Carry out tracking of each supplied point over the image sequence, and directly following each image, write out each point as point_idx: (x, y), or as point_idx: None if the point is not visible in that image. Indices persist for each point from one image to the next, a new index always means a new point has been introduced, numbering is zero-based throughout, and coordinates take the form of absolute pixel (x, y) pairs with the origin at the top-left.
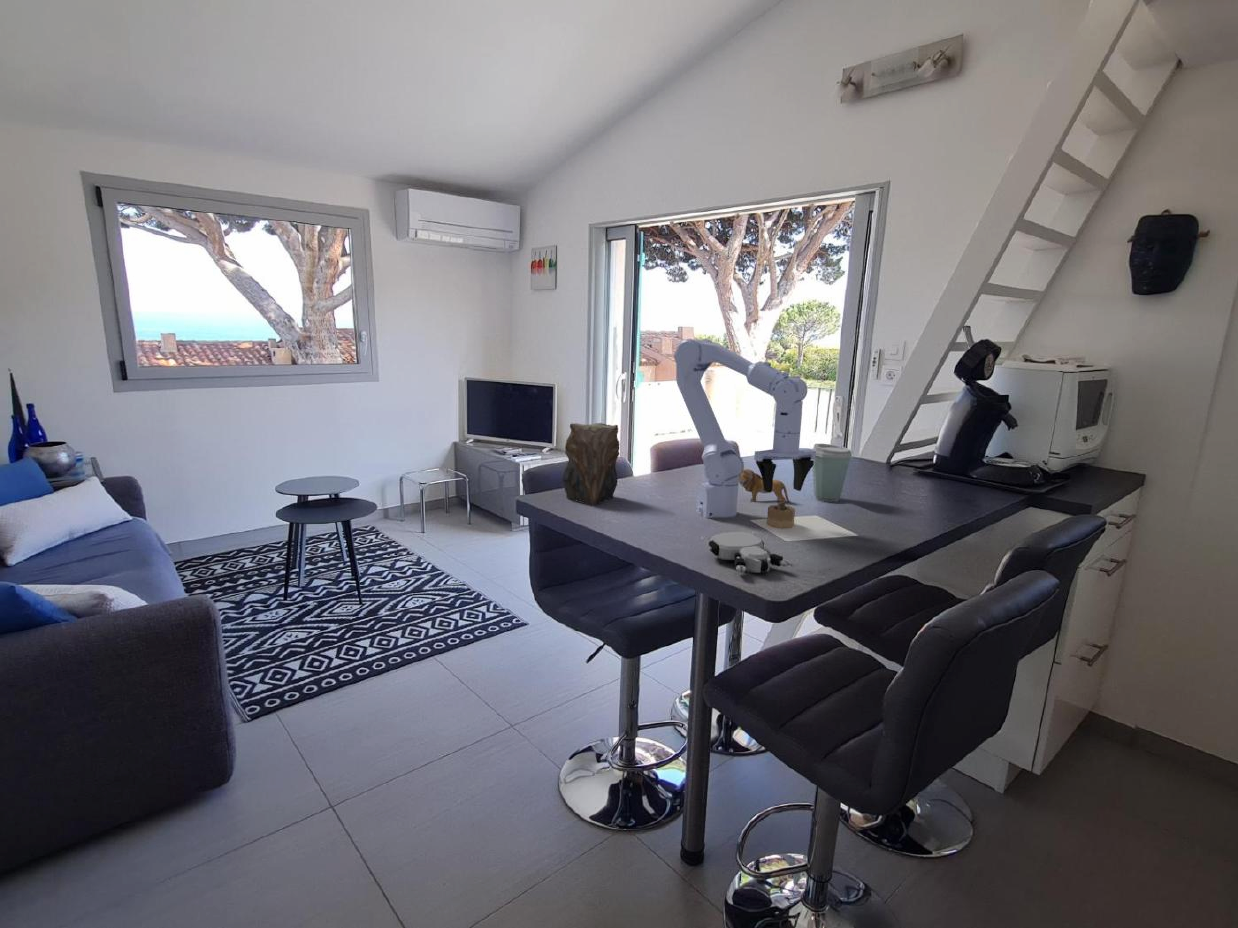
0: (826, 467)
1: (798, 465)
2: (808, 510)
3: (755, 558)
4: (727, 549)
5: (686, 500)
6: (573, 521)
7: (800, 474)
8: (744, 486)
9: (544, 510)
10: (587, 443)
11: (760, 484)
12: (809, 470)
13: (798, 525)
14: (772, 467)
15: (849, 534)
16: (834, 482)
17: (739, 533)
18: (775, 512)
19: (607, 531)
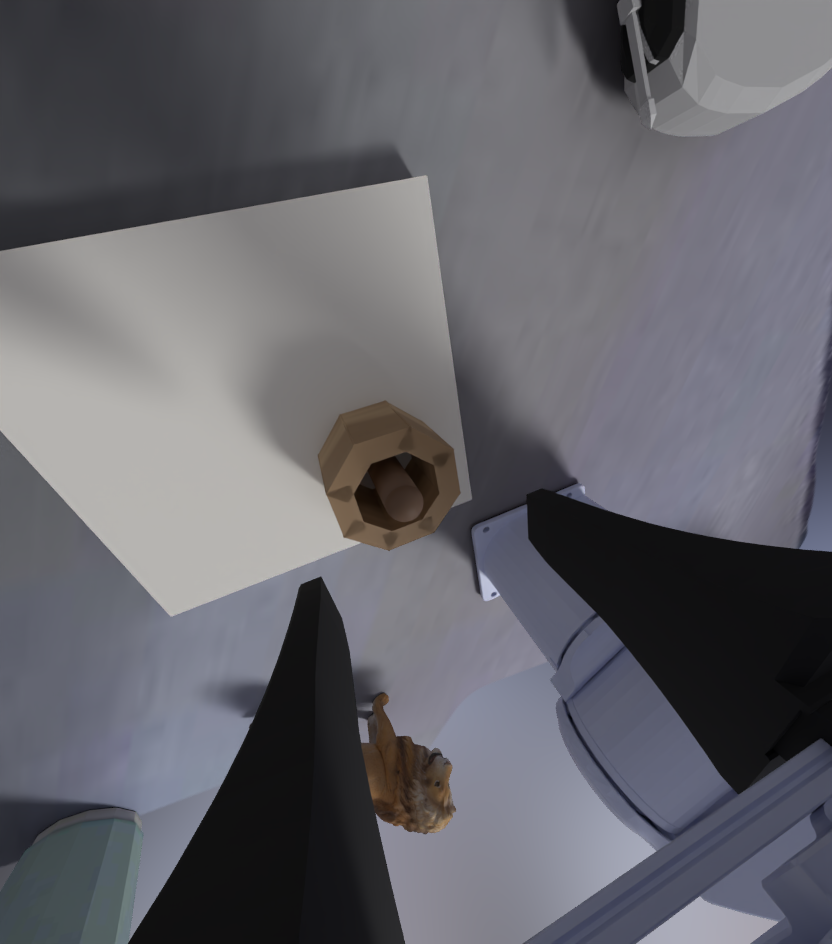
0: None
1: (362, 862)
2: (193, 697)
3: None
4: None
5: (541, 655)
6: (810, 454)
7: (328, 716)
8: (422, 746)
9: (803, 515)
10: None
11: (377, 771)
12: (209, 810)
13: (293, 457)
14: (805, 580)
15: None
16: (9, 941)
17: (748, 54)
18: (439, 441)
19: (807, 386)
